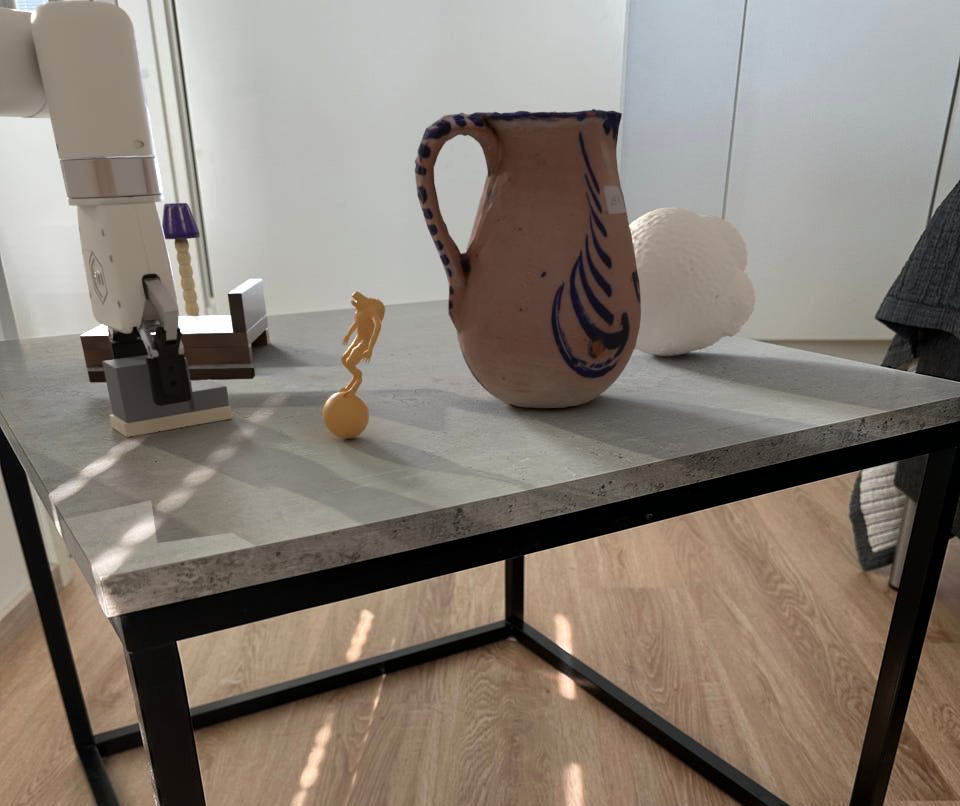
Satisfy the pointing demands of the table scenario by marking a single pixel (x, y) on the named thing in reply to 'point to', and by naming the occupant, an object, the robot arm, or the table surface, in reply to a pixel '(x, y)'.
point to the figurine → (355, 370)
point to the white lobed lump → (689, 281)
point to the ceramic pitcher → (540, 255)
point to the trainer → (143, 415)
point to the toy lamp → (182, 248)
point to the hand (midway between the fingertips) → (154, 393)
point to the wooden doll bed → (205, 337)
